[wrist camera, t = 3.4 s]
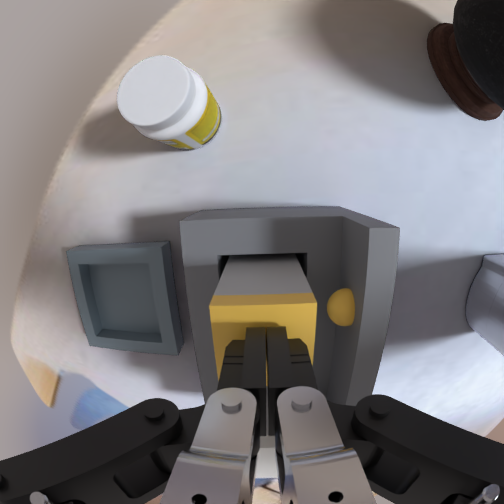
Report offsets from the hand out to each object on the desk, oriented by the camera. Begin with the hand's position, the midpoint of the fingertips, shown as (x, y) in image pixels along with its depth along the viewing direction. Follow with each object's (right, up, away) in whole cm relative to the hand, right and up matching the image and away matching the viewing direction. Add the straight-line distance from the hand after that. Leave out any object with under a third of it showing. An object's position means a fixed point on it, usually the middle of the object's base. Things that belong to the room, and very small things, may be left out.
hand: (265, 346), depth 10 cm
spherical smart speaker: (+22, +22, +6) cm, 32 cm away
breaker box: (+1, -2, +12) cm, 13 cm away
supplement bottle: (-5, +14, +9) cm, 17 cm away
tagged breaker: (0, +2, +8) cm, 8 cm away
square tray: (-12, 0, +12) cm, 17 cm away
